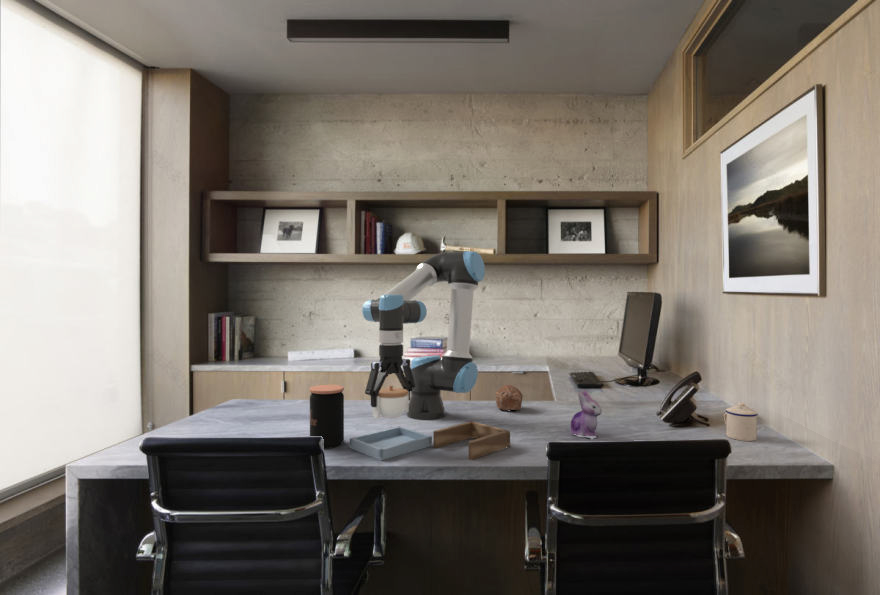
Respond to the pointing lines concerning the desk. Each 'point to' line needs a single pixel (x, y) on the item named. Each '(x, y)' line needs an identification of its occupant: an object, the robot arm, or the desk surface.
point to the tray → (390, 442)
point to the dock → (484, 434)
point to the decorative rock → (509, 398)
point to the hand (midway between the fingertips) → (390, 414)
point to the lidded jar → (392, 401)
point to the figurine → (586, 416)
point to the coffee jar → (327, 414)
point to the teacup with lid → (741, 422)
